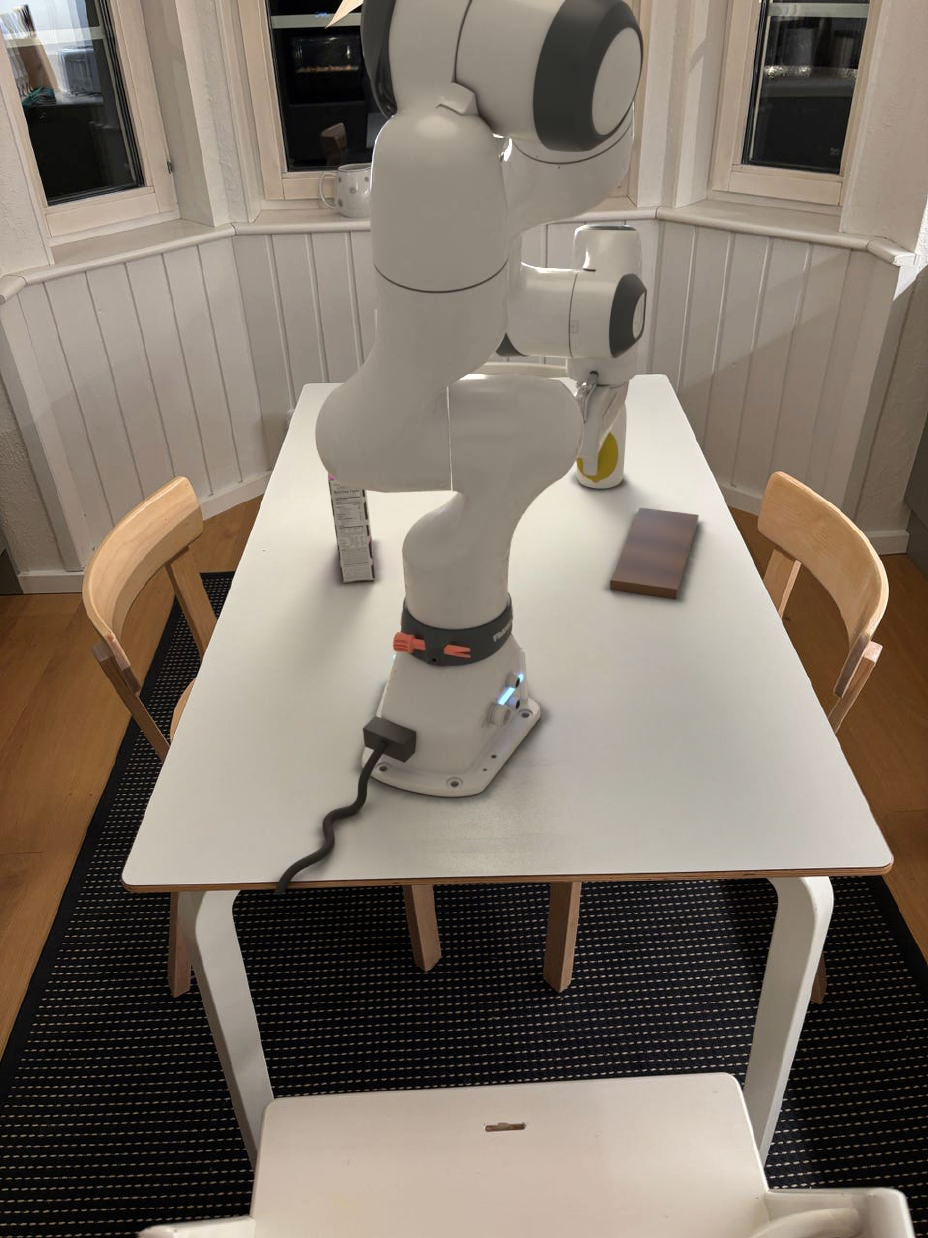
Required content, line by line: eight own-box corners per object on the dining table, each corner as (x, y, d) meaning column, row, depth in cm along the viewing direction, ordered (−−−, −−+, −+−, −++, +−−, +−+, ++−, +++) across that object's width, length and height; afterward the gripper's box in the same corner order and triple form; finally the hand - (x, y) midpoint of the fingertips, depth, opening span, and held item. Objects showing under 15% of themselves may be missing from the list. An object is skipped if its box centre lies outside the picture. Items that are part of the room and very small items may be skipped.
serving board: (676, 599, 128) (677, 589, 127) (609, 589, 130) (610, 579, 129) (697, 523, 145) (698, 514, 144) (638, 516, 147) (639, 507, 146)
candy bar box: (339, 545, 143) (326, 443, 133) (372, 542, 143) (362, 441, 134) (340, 584, 133) (326, 478, 124) (375, 581, 134) (365, 475, 125)
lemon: (615, 492, 125) (618, 435, 121) (573, 490, 126) (575, 433, 122) (617, 475, 130) (621, 419, 125) (577, 472, 131) (579, 417, 126)
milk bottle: (610, 466, 162) (617, 350, 151) (631, 485, 156) (639, 366, 145) (568, 473, 160) (572, 357, 149) (587, 493, 154) (593, 373, 143)
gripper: (609, 390, 110) (604, 498, 118) (640, 337, 126) (633, 435, 134) (556, 386, 112) (554, 493, 119) (593, 334, 128) (589, 431, 135)
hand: (596, 462), depth 127 cm, fingers closed on lemon, 5 cm apart
